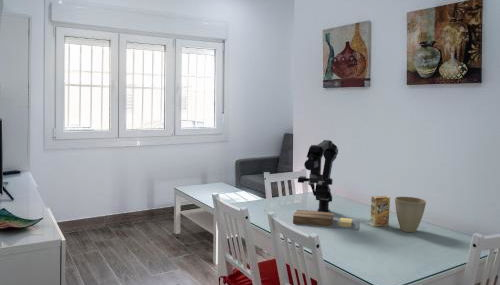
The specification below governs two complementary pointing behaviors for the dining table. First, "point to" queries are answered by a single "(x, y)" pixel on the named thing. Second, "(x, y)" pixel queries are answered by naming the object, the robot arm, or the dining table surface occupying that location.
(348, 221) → the yellow rectangular block
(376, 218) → the candy box
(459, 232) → the dining table surface
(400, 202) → the plant pot
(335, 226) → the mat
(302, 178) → the robot arm
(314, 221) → the brown wooden flat block
